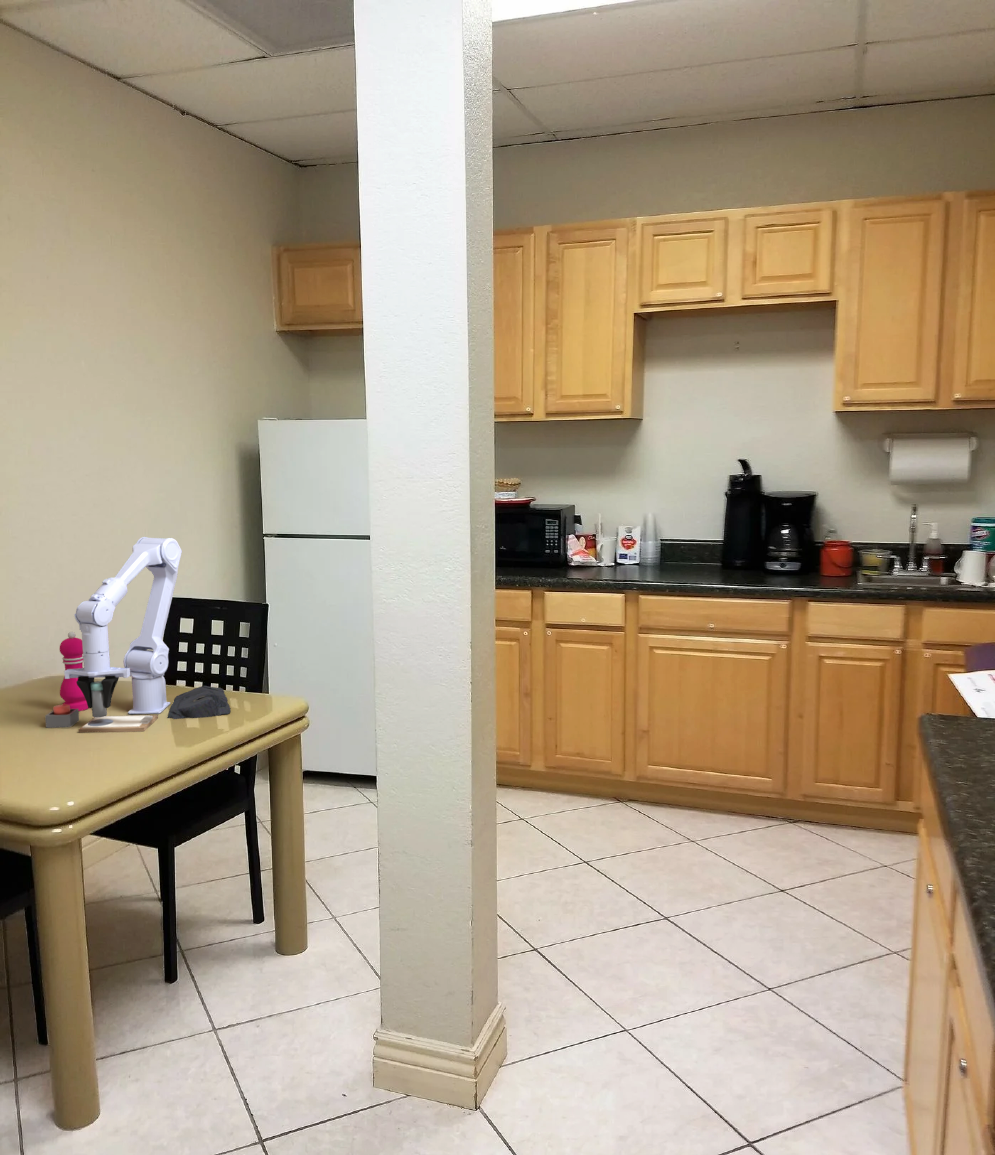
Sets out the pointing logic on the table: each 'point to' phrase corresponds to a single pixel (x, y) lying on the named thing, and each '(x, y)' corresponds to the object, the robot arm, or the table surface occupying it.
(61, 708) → the button
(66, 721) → the button box
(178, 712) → the dark slate chunk
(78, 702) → the pepper mill
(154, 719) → the clipboard
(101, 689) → the marker
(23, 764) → the table surface
